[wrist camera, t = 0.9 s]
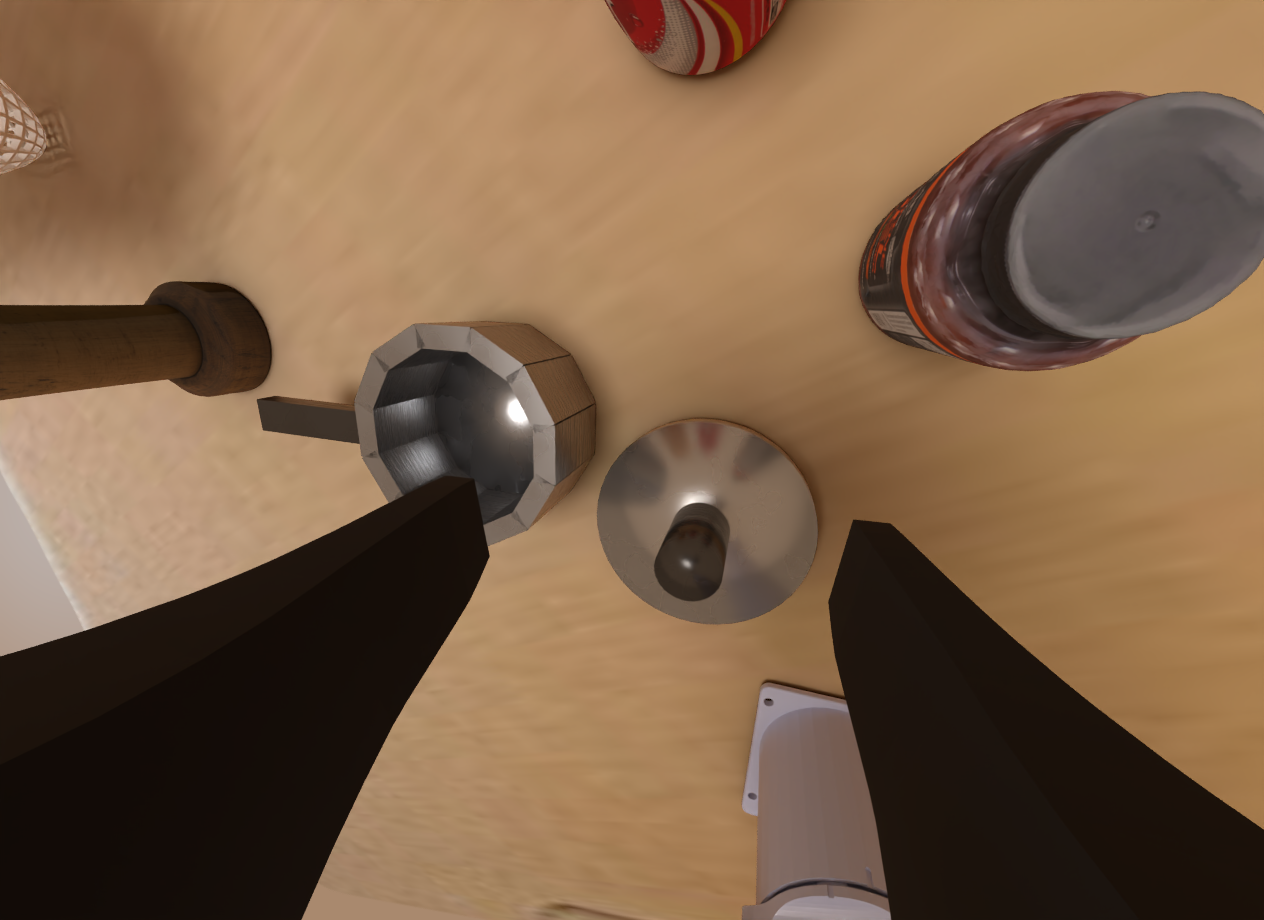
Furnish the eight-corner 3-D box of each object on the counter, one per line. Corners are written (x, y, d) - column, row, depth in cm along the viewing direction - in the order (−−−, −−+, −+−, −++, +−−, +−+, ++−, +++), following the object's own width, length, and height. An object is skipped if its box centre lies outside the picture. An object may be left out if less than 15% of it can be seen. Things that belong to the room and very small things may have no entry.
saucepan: (593, 517, 26) (555, 561, 21) (349, 477, 30) (272, 507, 25) (597, 328, 23) (554, 332, 18) (324, 311, 27) (232, 311, 22)
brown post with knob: (232, 409, 31) (-389, 523, 14) (171, 319, 30) (-565, 330, 13) (290, 359, 28) (-379, 427, 12) (225, 260, 28) (-593, 183, 11)
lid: (796, 624, 25) (804, 706, 20) (604, 586, 27) (565, 650, 22) (832, 427, 21) (853, 464, 16) (610, 404, 24) (566, 430, 19)
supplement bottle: (910, 159, 18) (1110, -56, 7) (1067, 221, 17) (1529, 82, 7) (825, 311, 20) (886, 311, 10) (960, 372, 19) (1183, 443, 9)
